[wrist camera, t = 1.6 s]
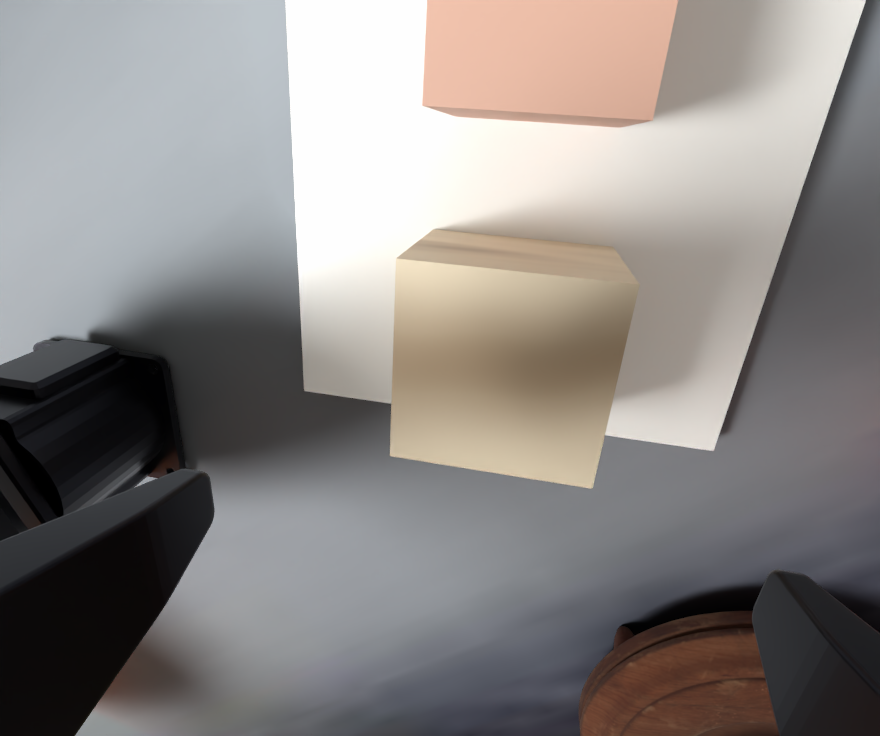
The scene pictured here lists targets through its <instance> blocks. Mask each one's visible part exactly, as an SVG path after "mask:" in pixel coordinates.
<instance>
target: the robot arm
mask: <svg viewBox="0 0 880 736" xmlns="http://www.w3.org/2000/svg"><path fill="white" fill-rule="evenodd" d="M33 350H34V352H31V353H29V354H26V355H24V356H22V357H19V358H17V359H14V360H12V361H9V362H7V363H4V364H2V365H0V736H75V735H76V733H77V732H78V730H79V729H80V728H81V726H82V725H83V723H84V722H85V720H86V719H87V718H88V716H89V715H90V713H91V712H92V710H93V709H94V708H95V706H96V705H97V703H98V702H99V700H100V699H101V697H102V696H103V695H104V693H105V692H106V690H107V689H108V687H109V686H110V685H111V683H112V682H113V680H114V679H115V677H116V676H117V674H118V673H119V672H120V670H121V669H122V667H123V666H124V664H125V663H126V662H127V660H128V659H129V657H130V656H131V654H132V653H133V651H134V650H135V649H136V647H137V646H138V644H139V643H140V641H141V640H142V639H143V637H144V636H145V634H146V633H147V631H148V630H149V628H150V627H151V626H152V624H153V623H154V621H155V620H156V618H157V617H158V615H159V614H160V612H161V611H162V609H163V608H164V606H165V605H166V603H167V602H168V600H169V598H170V597H171V595H172V593H173V592H174V590H175V588H176V586H177V584H178V583H179V581H180V579H181V577H182V576H183V574H184V572H185V570H186V569H187V567H188V565H189V563H190V561H191V560H192V558H193V556H194V554H195V553H196V551H197V549H198V547H199V545H200V544H201V542H202V540H203V538H204V537H205V535H206V533H207V531H208V529H209V528H210V526H211V524H212V521H213V518H214V503H213V496H212V489H211V482H210V477H209V476H208V474H207V473H205V472H203V471H198V470H192V469H186V467H185V461H184V455H183V449H182V443H181V437H180V431H179V425H178V419H177V413H176V407H175V401H174V395H173V389H172V383H171V377H170V371H169V366H168V363H167V362H166V361H165V359H163V358H162V357H160V356H157V355H150V354H143V353H136V352H129V351H122V350H118V349H117V348H115V347H113V346H110V345H103V344H96V343H89V342H82V341H75V340H68V339H64V340H61V341H52V340H44V341H41V342H39V343H37V344H35V345H34V347H33ZM154 365H155V366H156V367H157V369H158V370H156V369H155V367H154ZM173 469H174V470H175V471H174V470H173ZM147 476H149V477H154V478H158V479H155V480H152V481H150V482H147V483H145V484H142V485H140V486H137V487H135V486H136V485H137V484H139V483H140V482H141V481H142V480H143V479H145V478H146V477H147ZM134 487H135V488H134ZM752 622H753V628H754V632H755V637H756V641H757V645H758V649H759V653H760V658H761V662H762V666H763V670H764V674H765V679H766V683H767V687H768V691H769V696H770V700H771V704H772V708H773V712H774V717H775V720H776V724H777V728H778V732H779V735H780V736H880V633H879V632H877V631H876V630H875V629H874V628H872V627H871V626H870V625H869V624H867V623H866V622H865V621H863V620H862V619H861V618H860V617H858V616H857V615H856V614H855V613H853V612H852V611H851V610H850V609H848V608H847V607H846V606H844V605H843V604H842V603H841V602H839V601H838V600H837V599H836V598H834V597H833V596H832V595H831V594H829V593H828V592H827V591H825V590H824V589H823V588H822V587H820V586H819V585H818V584H817V583H815V582H814V581H813V580H812V579H810V578H809V577H807V576H806V575H804V574H801V573H796V572H790V571H784V570H773V571H771V572H770V573H769V574H768V576H767V578H766V580H765V582H764V585H763V587H762V589H761V592H760V594H759V596H758V598H757V601H756V603H755V605H754V608H753V613H752Z"/></svg>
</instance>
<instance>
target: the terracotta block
mask: <svg viewBox="0 0 880 736" xmlns="http://www.w3.org/2000/svg"><path fill="white" fill-rule="evenodd" d="M677 4H678V0H427V14H426V35H425V57H424V78H423V100H422V106H425V107H428V108H431V109H434V110H437V111H440V112H443V113H446V114H449V115H452V116H455V117H467V118H482V119H497V120H512V121H527V122H542V123H557V124H572V125H587V126H602V127H617V128H621V127H626V126H630V125H635V124H639V123H644V122H648V121H653V117H654V112H655V107H656V103H657V98H658V93H659V89H660V84H661V79H662V75H663V70H664V65H665V60H666V56H667V51H668V46H669V42H670V37H671V32H672V28H673V23H674V18H675V14H676V9H677Z"/></svg>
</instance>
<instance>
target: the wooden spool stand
mask: <svg viewBox="0 0 880 736" xmlns="http://www.w3.org/2000/svg"><path fill="white" fill-rule="evenodd" d="M752 613H753V611H727V612H716V613H707V614H701V615H696V616H690V617H685V618H681V619H678V620H674V621H670V622H667V623H664V624H661V625H658V626H655V627H653V628H651V629H648V630H646V631H644V632H641V633H639V634H637V635H636V636H634V635H633V633H632V632H631V630H630V629H629V628H627V627H625V626H621V627H619V628H618V629H617V632H616V635H615V639H614V649H613V650H612V651H611V652H610V653H609V654H608V655H606V656H605V657H604V658H603V659H602V660H601V661H600V662H599V664H598V665H597V666H596V667H595V668H594V670H593V671H592V673H591V674H590V675H589V677H588V679H587V681H586V683H585V685H584V688H583V690H582V693H581V697H580V702H579V723H580V736H780V735H779V732H778V728H777V724H776V720H775V717H774V712H773V708H772V704H771V700H770V696H769V691H768V687H767V683H766V679H765V674H764V670H763V666H762V662H761V658H760V653H759V649H758V645H757V641H756V637H755V632H754V628H753V622H752Z"/></svg>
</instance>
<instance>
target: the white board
mask: <svg viewBox="0 0 880 736" xmlns="http://www.w3.org/2000/svg"><path fill="white" fill-rule="evenodd" d="M285 2H286V23H287V44H288V64H289V85H290V106H291V127H292V148H293V169H294V190H295V211H296V232H297V253H298V273H299V294H300V315H301V336H302V357H303V378H304V391H308V392H314V393H321V394H328V395H335V396H342V397H348V398H355V399H362V400H369V401H376V402H382V403H389V404H391V401H392V369H393V337H394V304H395V272H396V258H397V257H398V256H400V255H401V254H402V253H403V252H405V251H406V250H407V249H409V248H410V247H411V246H412V245H414V244H415V243H416V242H418V241H419V240H420V239H421V238H423V237H424V236H425V235H427V234H428V233H429V232H430V231H432V230H433V229H436V230H446V231H457V232H467V233H477V234H487V235H497V236H508V237H518V238H528V239H538V240H549V241H559V242H569V243H579V244H589V245H600V246H610V247H614V249H615V250H616V251H617V253H618V254H619V256H620V257H621V259H622V260H623V261H624V263H625V264H626V266H627V267H628V268H629V270H630V271H631V273H632V274H633V276H634V277H635V278H636V280H637V281H638V283H639V284H640V286H639V290H638V294H637V298H636V303H635V307H634V311H633V316H632V320H631V324H630V329H629V333H628V337H627V342H626V346H625V350H624V355H623V359H622V363H621V368H620V372H619V376H618V381H617V385H616V389H615V394H614V398H613V402H612V407H611V411H610V415H609V419H608V424H607V428H606V432H605V435H607V436H614V437H621V438H627V439H634V440H641V441H648V442H655V443H661V444H668V445H675V446H682V447H689V448H695V449H702V450H709V451H714V448H715V445H716V442H717V439H718V436H719V433H720V430H721V427H722V425H723V422H724V419H725V416H726V413H727V410H728V407H729V404H730V401H731V398H732V395H733V392H734V389H735V386H736V383H737V380H738V377H739V374H740V371H741V368H742V365H743V362H744V359H745V357H746V354H747V351H748V348H749V345H750V342H751V339H752V336H753V333H754V330H755V327H756V324H757V321H758V318H759V315H760V312H761V309H762V306H763V303H764V300H765V297H766V294H767V291H768V288H769V286H770V283H771V280H772V277H773V274H774V271H775V268H776V265H777V262H778V259H779V256H780V253H781V250H782V247H783V244H784V241H785V238H786V235H787V232H788V229H789V226H790V223H791V220H792V218H793V215H794V212H795V209H796V206H797V203H798V200H799V197H800V194H801V191H802V188H803V185H804V182H805V179H806V176H807V173H808V170H809V167H810V164H811V161H812V158H813V155H814V152H815V149H816V147H817V144H818V141H819V138H820V135H821V132H822V129H823V126H824V123H825V120H826V117H827V114H828V111H829V108H830V105H831V102H832V99H833V96H834V93H835V90H836V87H837V84H838V81H839V79H840V76H841V73H842V70H843V67H844V64H845V61H846V58H847V55H848V52H849V49H850V46H851V43H852V40H853V37H854V34H855V31H856V28H857V25H858V22H859V19H860V16H861V13H862V10H863V8H864V5H865V2H866V0H678V4H677V9H676V14H675V18H674V23H673V28H672V32H671V37H670V42H669V46H668V51H667V56H666V60H665V65H664V70H663V75H662V79H661V84H660V89H659V93H658V98H657V103H656V107H655V112H654V117H653V121H648V122H644V123H639V124H635V125H630V126H626V127H621V128H617V127H602V126H587V125H572V124H557V123H542V122H527V121H512V120H497V119H482V118H467V117H455V116H452V115H449V114H446V113H443V112H440V111H437V110H434V109H431V108H428V107H425V106H422V100H423V78H424V57H425V35H426V14H427V0H285Z"/></svg>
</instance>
